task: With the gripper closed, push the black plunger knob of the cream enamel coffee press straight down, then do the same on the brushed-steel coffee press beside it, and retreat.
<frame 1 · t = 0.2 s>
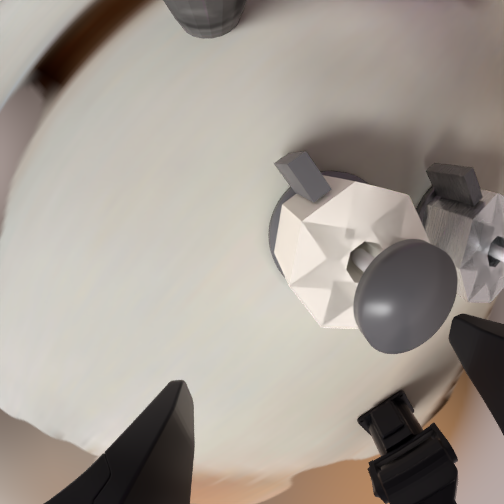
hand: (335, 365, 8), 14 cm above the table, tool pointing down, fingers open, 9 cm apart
beverage cup: (210, 15, 16), on the table
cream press: (330, 233, 21), on the table
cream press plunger: (383, 276, 13), point 8 cm above the table, slide at 0.0 cm
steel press: (448, 230, 22), on the table
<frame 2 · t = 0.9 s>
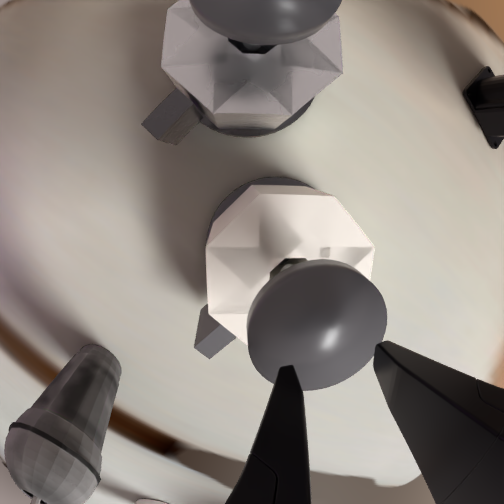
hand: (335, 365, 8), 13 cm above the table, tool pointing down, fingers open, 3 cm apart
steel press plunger: (257, 14, 9), point 8 cm above the table, slide at 0.0 cm
beverage cup: (100, 362, 23), on the table
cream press: (275, 244, 20), on the table
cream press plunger: (302, 299, 12), point 8 cm above the table, slide at 0.0 cm
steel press: (247, 72, 17), on the table
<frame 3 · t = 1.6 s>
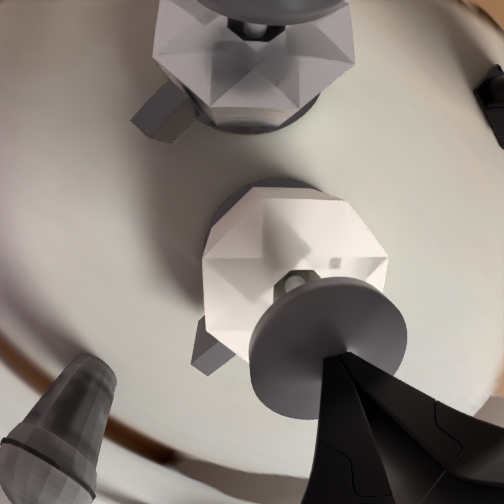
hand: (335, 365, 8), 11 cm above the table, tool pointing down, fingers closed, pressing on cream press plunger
beverage cup: (94, 372, 21), on the table
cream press: (278, 251, 19), on the table
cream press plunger: (310, 317, 11), point 8 cm above the table, slide at 0.0 cm, touching gripper
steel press: (248, 65, 15), on the table
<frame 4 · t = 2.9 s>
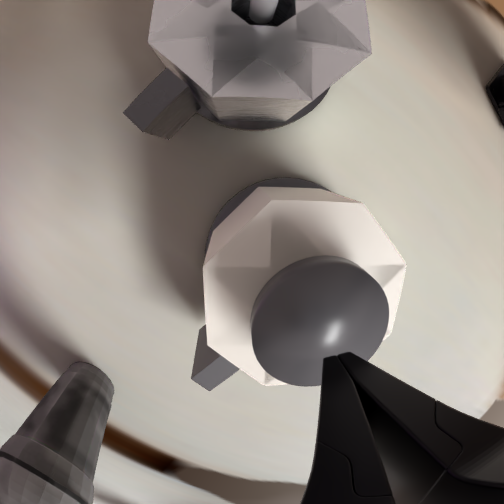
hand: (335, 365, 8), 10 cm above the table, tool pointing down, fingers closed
beverage cup: (91, 380, 20), on the table
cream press: (284, 256, 18), on the table
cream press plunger: (305, 295, 12), point 5 cm above the table, slide at 3.0 cm
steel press: (252, 56, 14), on the table
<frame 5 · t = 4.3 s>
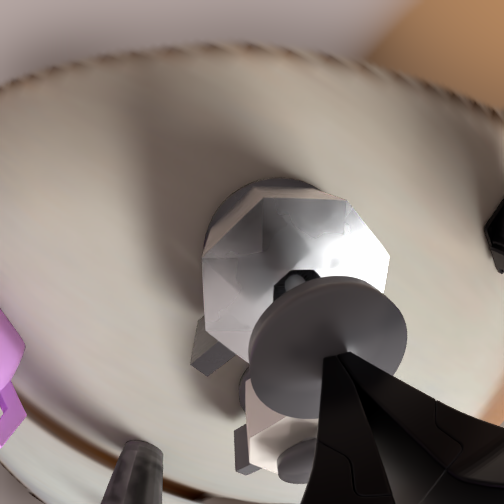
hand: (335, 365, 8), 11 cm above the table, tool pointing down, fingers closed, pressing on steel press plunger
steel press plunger: (310, 316, 11), point 8 cm above the table, slide at 0.1 cm, touching gripper
beverage cup: (144, 449, 25), on the table
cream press: (294, 387, 22), on the table
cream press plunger: (307, 435, 17), point 5 cm above the table, slide at 3.0 cm
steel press: (278, 251, 19), on the table
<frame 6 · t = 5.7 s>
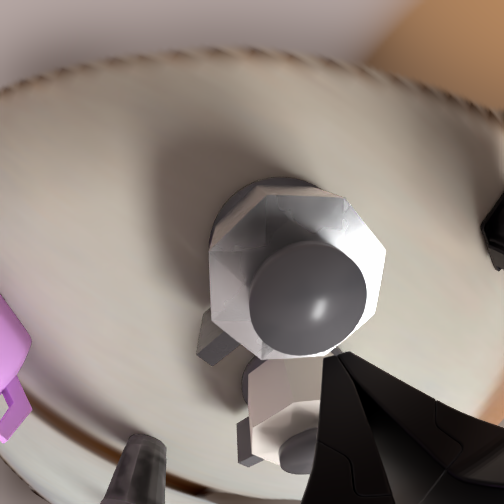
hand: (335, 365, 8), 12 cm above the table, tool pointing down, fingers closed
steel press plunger: (296, 278, 14), point 5 cm above the table, slide at 3.0 cm
beverage cup: (147, 444, 26), on the table
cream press: (296, 380, 23), on the table
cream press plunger: (308, 426, 18), point 5 cm above the table, slide at 3.0 cm
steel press: (280, 247, 20), on the table
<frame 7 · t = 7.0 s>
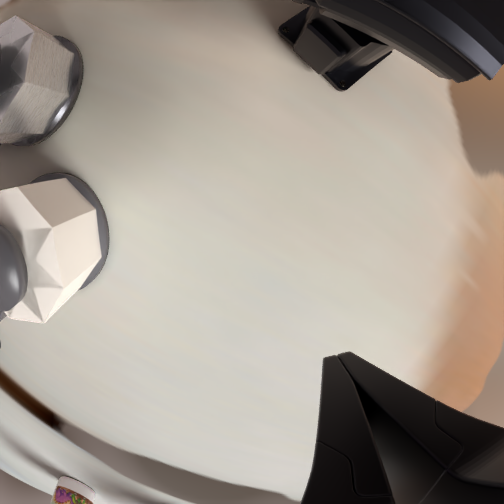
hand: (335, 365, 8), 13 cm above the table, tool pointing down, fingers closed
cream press: (59, 233, 19), on the table
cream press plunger: (18, 254, 14), point 5 cm above the table, slide at 3.0 cm
milk bottle: (78, 484, 32), on the table
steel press: (37, 90, 15), on the table
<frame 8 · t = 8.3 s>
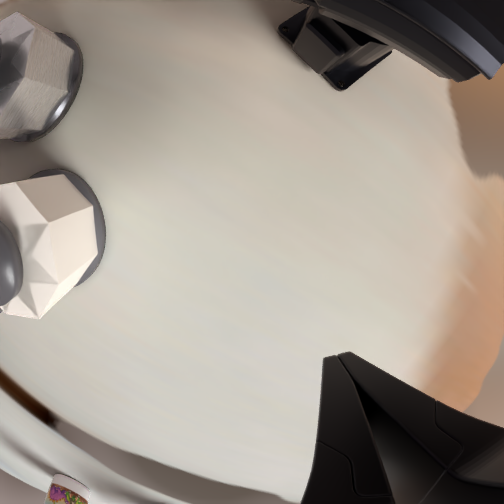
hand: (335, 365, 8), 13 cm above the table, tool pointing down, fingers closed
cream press: (56, 229, 19), on the table
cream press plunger: (15, 249, 14), point 5 cm above the table, slide at 3.0 cm
milk bottle: (72, 482, 32), on the table
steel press: (37, 86, 15), on the table
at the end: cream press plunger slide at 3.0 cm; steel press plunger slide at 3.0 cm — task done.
